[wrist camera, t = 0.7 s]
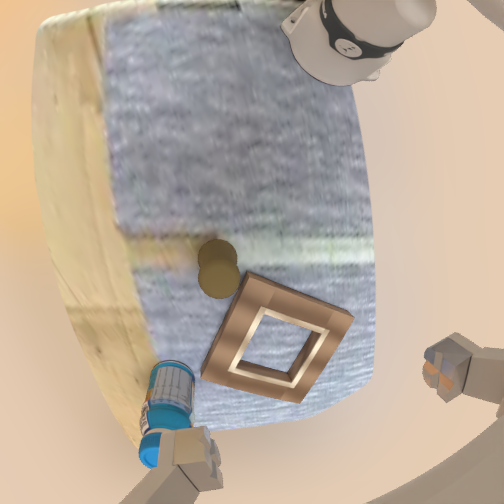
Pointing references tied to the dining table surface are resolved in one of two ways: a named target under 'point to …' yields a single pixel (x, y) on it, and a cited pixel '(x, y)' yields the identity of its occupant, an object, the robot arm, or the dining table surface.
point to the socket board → (284, 308)
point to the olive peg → (218, 269)
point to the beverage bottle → (165, 407)
